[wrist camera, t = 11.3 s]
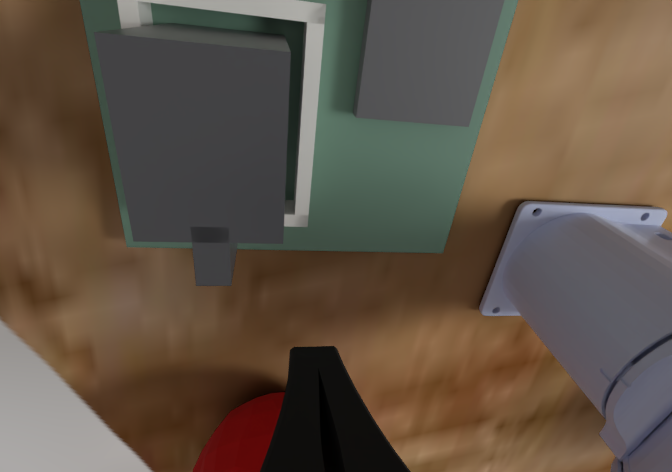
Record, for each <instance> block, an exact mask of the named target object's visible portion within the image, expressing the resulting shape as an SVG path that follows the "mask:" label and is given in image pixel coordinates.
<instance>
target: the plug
mask: <svg viewBox="0 0 672 472" xmlns="http://www.w3.org/2000/svg"><path fill="white" fill-rule="evenodd" d="M94 36H95V41H96V46H97V52H98V57H99V62H100V68H101V73H102V78H103V83H104V89H105V94H106V99H107V104H108V110H109V115H110V120H111V126H112V131H113V136H114V141H115V147H116V152H117V157H118V163H119V168H120V173H121V178H122V184H123V189H124V194H125V199H126V205H127V210H128V215H129V221H130V226H131V231H132V236H133V242H192V248H193V258H194V268H195V278H196V286H231V284H232V277H233V271H234V265H235V258H236V252H237V246H238V243H255V244H283V237H284V212H285V187H286V162H287V136H288V111H289V86H290V61H291V51H290V49H289V46H288V44H287V41H286V38H285V36H284V35H280V34H270V33H261V32H252V31H243V30H234V29H225V28H215V27H206V26H197V25H188V24H179V23H167V24H158V25H150V26H141V27H133V28H124V29H116V30H108V31H99V32H94Z"/></svg>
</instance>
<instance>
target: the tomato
mask: <svg viewBox="0 0 672 472" xmlns="http://www.w3.org/2000/svg"><path fill="white" fill-rule="evenodd" d="M284 394H285V392H279V393H270V394H267V395H263V396H260V397H257V398H255V399H253V400H251V401H249V402H246V403H244V404H242V405H241V406H239V407H237V408H235V409H234V410H232V411H230V412H229V414H228V415H227V416H226V417H225V419H224V420H223V421H222V422H221V424H220V425H219V426H218V428H217V429H216V430H215V432H214V433H213V435H212V436H211V438H210V439H209V441H208V442H207V444H206V445H205V447H204V448H203V450H202V452H201V454H200V456H199V458H198V460H197V462H196V465H195V467H194V469H193V472H260V469H261V467H262V464H263V462H264V459H265V456H266V454H267V451H268V448H269V445H270V442H271V439H272V436H273V433H274V430H275V427H276V424H277V420H278V417H279V414H280V410H281V406H282V402H283V398H284Z"/></svg>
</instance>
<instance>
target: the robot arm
mask: <svg viewBox="0 0 672 472" xmlns="http://www.w3.org/2000/svg"><path fill="white" fill-rule="evenodd" d="M535 209H537V210H536V212H534V213H533V211H534V210H535ZM666 216H667V211H666V210H664V209H663V208H660V207H646V206H624V205H603V204H582V203H561V202H539V201H525V202H523V203H521V204H520V205H519V207H518V208H517V211H516V213H515V216H514V218H513V221H512V224H511V226H510V229H509V231H508V234H507V237H506V239H505V242H504V244H503V247H502V249H501V252H500V255H499V257H498V260H497V262H496V265H495V268H494V270H493V273H492V275H491V278H490V281H489V283H488V286H487V288H486V291H485V293H484V296H483V299H482V301H481V304H480V306H479V310H480V312H481V314H482V315H484V316H520V315H521V316H522V317H523V318H524V319H525V321H526V322H527V323H528V324H529V326H530V327H531V328H532V329H533V331H534V332H535V333H536V334H537V336H538V337H539V338H540V339H541V340H542V342H543V343H544V344H545V345H546V347H547V348H548V349H549V350H550V352H551V353H552V354H553V355H554V357H555V358H556V359H557V360H558V361H559V363H560V364H561V365H562V366H563V368H564V369H565V370H566V371H567V373H568V374H569V375H570V376H571V378H572V379H573V380H574V381H575V382H576V384H577V385H578V386H579V387H580V389H581V390H582V391H583V392H584V394H585V395H586V396H587V397H588V399H589V400H590V401H591V402H592V404H593V405H594V406H595V407H596V408H597V410H598V411H599V412H600V413H601V415H602V416H603V417H604V418H605V419H606V423H605V425H604V427H603V429H602V430H601V431H600V433H599V435H600V436H601V438H602V439H603V440H604V442H605V443H606V444H607V445H608V447H609V448H610V449H611V451H612V452H613V453H614V455H615V456H616V457H615V459H614V461H613V463H612V465H611V472H672V233H671V232H670V231H668V230H666V229H664V228H662V227H661V225H662V223H663V222H664V220H665V218H666ZM494 308H495V309H494ZM260 472H410V470H409V469H408V468H407V466H406V465H405V464H404V462H403V461H402V460H401V458H400V457H399V456H398V454H397V453H396V452H395V450H394V449H393V447H392V446H391V445H390V443H389V442H388V440H387V439H386V437H385V436H384V434H383V433H382V431H381V430H380V428H379V427H378V425H377V424H376V422H375V420H374V419H373V417H372V416H371V414H370V412H369V411H368V409H367V407H366V406H365V404H364V402H363V400H362V399H361V397H360V395H359V393H358V392H357V390H356V388H355V386H354V384H353V382H352V380H351V378H350V376H349V375H348V373H347V370H346V368H345V366H344V364H343V362H342V360H341V357H340V355H339V353H338V350H337V348H335V347H334V346H321V347H294V348H292V349H291V350H290V358H289V372H288V381H287V386H286V391H285V394H284V398H283V402H282V406H281V410H280V414H279V417H278V420H277V424H276V427H275V430H274V433H273V436H272V439H271V442H270V445H269V448H268V451H267V454H266V456H265V459H264V462H263V464H262V467H261V469H260Z"/></svg>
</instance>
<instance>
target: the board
mask: <svg viewBox="0 0 672 472" xmlns="http://www.w3.org/2000/svg"><path fill="white" fill-rule="evenodd" d="M517 3H518V0H80V5H81V10H82V15H83V21H84V26H85V31H86V36H87V41H88V47H89V52H90V57H91V62H92V68H93V73H94V78H95V83H96V88H97V94H98V99H99V104H100V109H101V114H102V120H103V125H104V130H105V135H106V141H107V146H108V151H109V156H110V161H111V167H112V172H113V177H114V182H115V188H116V193H117V198H118V203H119V208H120V214H121V219H122V224H123V229H124V234H125V240H126V245H127V247H150V248H192V242H133V236H132V231H131V226H130V221H129V215H128V210H127V205H126V199H125V194H124V189H123V184H122V178H121V173H120V168H119V163H118V157H117V152H116V147H115V141H114V136H113V131H112V126H111V120H110V115H109V110H108V104H107V99H106V94H105V89H104V83H103V78H102V73H101V68H100V62H99V57H98V52H97V46H96V41H95V36H94V32H99V31H108V30H116V29H124V28H133V27H141V26H150V25H158V24H167V23H179V24H188V25H197V26H206V27H215V28H225V29H234V30H243V31H252V32H261V33H270V34H280V35H284V36H285V38H286V41H287V44H288V46H289V49H290V51H291V61H290V86H289V111H288V136H287V162H286V187H285V212H284V237H283V244H255V243H238V246H237V249H254V250H305V251H357V252H408V253H443V251H444V248H445V245H446V241H447V238H448V235H449V231H450V228H451V224H452V221H453V218H454V214H455V211H456V208H457V204H458V201H459V198H460V194H461V191H462V187H463V184H464V181H465V177H466V174H467V171H468V167H469V164H470V161H471V157H472V154H473V151H474V147H475V144H476V140H477V137H478V134H479V130H480V127H481V124H482V120H483V117H484V114H485V110H486V107H487V104H488V100H489V97H490V93H491V90H492V87H493V83H494V80H495V77H496V73H497V70H498V67H499V63H500V60H501V57H502V53H503V50H504V46H505V43H506V40H507V36H508V33H509V30H510V26H511V23H512V20H513V16H514V13H515V10H516V6H517Z"/></svg>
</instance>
